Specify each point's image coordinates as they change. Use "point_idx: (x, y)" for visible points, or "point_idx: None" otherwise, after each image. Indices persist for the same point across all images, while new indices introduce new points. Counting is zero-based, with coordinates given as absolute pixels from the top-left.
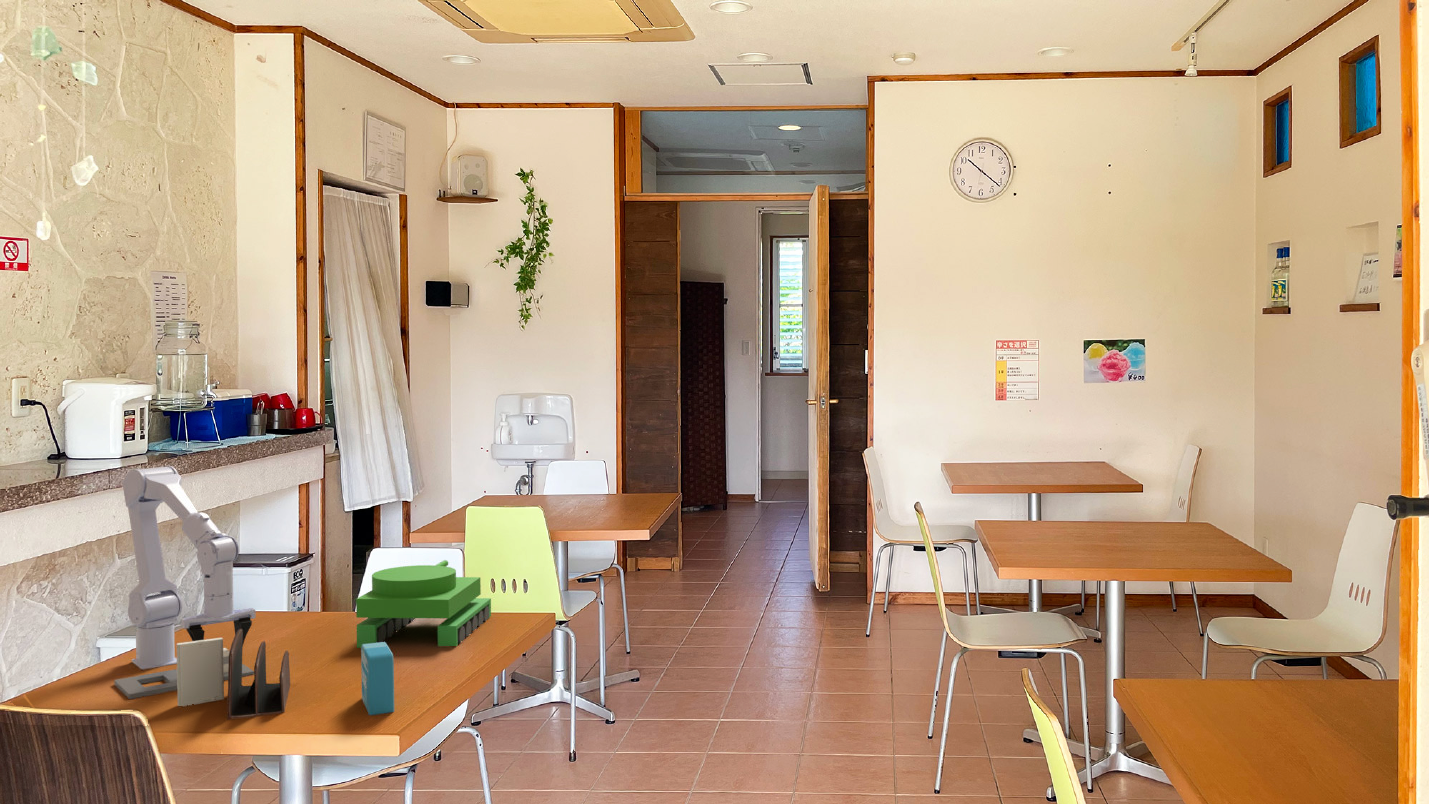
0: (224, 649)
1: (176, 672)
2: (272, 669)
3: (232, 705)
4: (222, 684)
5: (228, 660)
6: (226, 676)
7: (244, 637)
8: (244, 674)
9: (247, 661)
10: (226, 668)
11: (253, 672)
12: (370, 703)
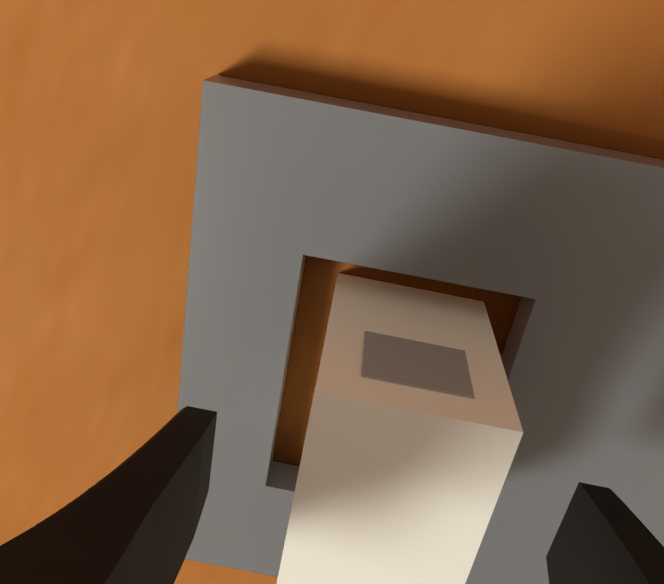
0: (312, 549)
1: None
2: (6, 153)
3: None
4: None
5: (365, 348)
6: (488, 133)
7: (72, 512)
8: (306, 97)
9: None
10: (387, 314)
11: (213, 80)
12: None
